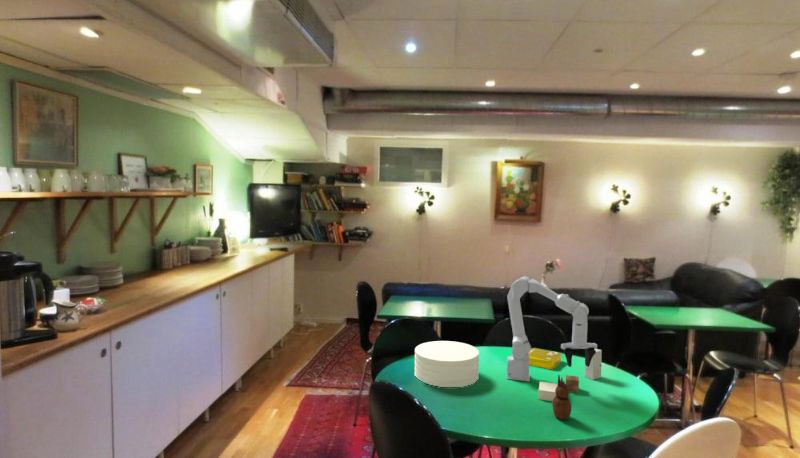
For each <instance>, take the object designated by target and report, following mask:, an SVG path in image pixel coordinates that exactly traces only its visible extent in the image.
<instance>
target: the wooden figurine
mask: <svg viewBox="0 0 800 458" xmlns="http://www.w3.org/2000/svg"><path fill="white" fill-rule="evenodd" d="M557 377H558V378H557V384H558V386H557V387H556V390H555V394H556V396H555V397H554V398H553V401H551V403H552V405H551V406H552V410H553V415H554V417H555V418H557V419H558V420H560V421H561V420H563V421H564V420H568V419H569V417H570V415H571V414H572V404H571V401H570V399H569V396H570V392H569V390H568V388H567V386H566V384H565V382H566V380H563V377H560V374H557Z"/></svg>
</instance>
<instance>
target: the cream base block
mask: <svg viewBox="0 0 800 458" xmlns="http://www.w3.org/2000/svg"><path fill="white" fill-rule="evenodd" d="M538 383H539V387H538V400H542V401H549V402H553V398H554V397H555V396H556V394H555V390H556V387H557V386H558V383H555V382H553V383H552V382H545V381H539V382H538Z"/></svg>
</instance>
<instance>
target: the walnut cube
mask: <svg viewBox="0 0 800 458" xmlns="http://www.w3.org/2000/svg"><path fill="white" fill-rule="evenodd" d="M565 384H566V386H567V388H568V390H569V393H570V392H571V393H578V394H579V391H580V390H579V389H580V378H579V375H577V376H575V375H569V374H565Z"/></svg>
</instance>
